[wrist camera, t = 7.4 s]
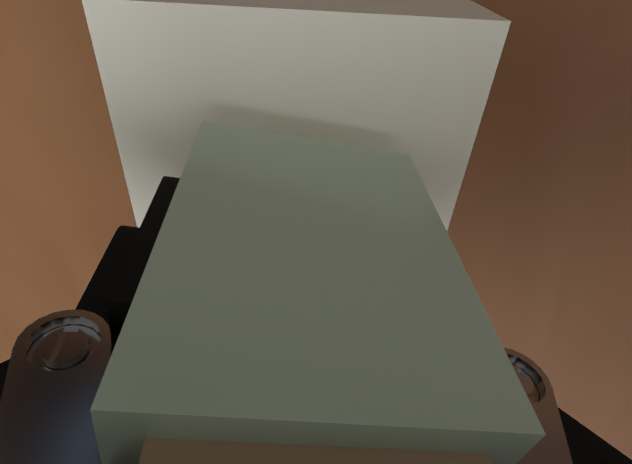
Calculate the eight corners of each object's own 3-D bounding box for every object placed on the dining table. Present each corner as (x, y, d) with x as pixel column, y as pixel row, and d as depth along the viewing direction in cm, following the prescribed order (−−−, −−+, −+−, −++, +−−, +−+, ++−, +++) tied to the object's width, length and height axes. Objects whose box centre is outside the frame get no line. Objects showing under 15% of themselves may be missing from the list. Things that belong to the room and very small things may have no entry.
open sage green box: (409, 154, 11) (572, 490, 5) (357, 295, 13) (414, 612, 7) (202, 120, 10) (64, 475, 4) (195, 278, 13) (111, 618, 7)
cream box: (441, -16, 15) (511, 20, 10) (393, 216, 21) (424, 306, 16) (150, -33, 14) (81, -2, 10) (188, 212, 20) (156, 305, 16)
